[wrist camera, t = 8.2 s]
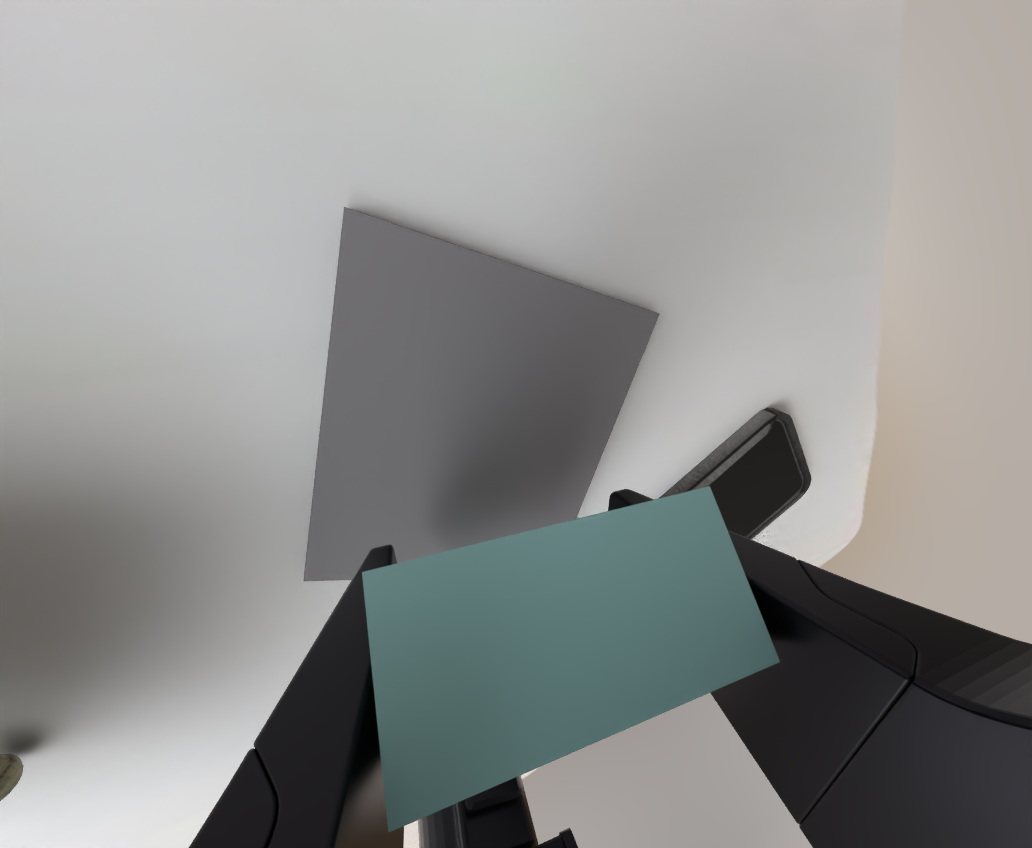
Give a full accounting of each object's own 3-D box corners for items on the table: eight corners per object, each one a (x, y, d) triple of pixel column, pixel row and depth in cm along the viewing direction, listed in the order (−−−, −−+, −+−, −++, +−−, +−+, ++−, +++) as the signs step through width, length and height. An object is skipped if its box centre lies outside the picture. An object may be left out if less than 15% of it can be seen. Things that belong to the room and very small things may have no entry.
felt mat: (549, 565, 19) (553, 573, 18) (305, 571, 14) (303, 581, 14) (651, 311, 14) (659, 313, 14) (346, 208, 10) (344, 206, 10)
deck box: (556, 596, 14) (785, 665, 5) (422, 636, 13) (383, 841, 3) (540, 530, 15) (710, 482, 6) (411, 562, 13) (356, 568, 4)
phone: (563, 597, 19) (787, 404, 18) (554, 580, 20) (767, 396, 19) (629, 643, 23) (815, 487, 22) (619, 627, 24) (797, 477, 23)
